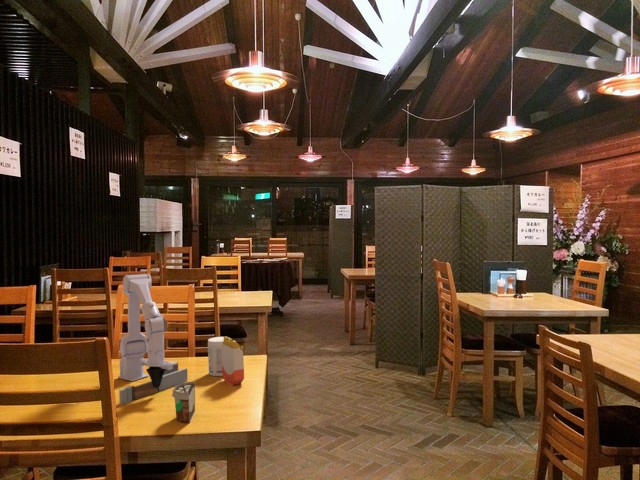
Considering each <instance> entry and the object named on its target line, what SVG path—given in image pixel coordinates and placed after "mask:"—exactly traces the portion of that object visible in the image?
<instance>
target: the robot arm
mask: <svg viewBox="0 0 640 480" xmlns="http://www.w3.org/2000/svg"><path fill="white" fill-rule="evenodd" d="M152 283H153V281H152V276H151V275H150V273H142V274H129V275H128V274H125V275H124V276H123V279H122V293H123V294H125V295H126V296H127V333H125V334H124V335H123V336H122V337H120V344H119V353H120V355H121V358H120V361H119V375H118V377H117V378H118V379H122V380H126V381H129V382H134V381H137V380H141V379H144V378H146V377H150V381H152V384H153V387H154V388H157V387H160V384H161V380H162V377H163V374H164V372H165V370H166V369H167V370H171V369H173V364H172V363H169V362H170V361H166V360H165V332H166V330H167V321H166V318H165V316H164V315H163V314H161V313H160V310H159V308H158V305H157V303H156V302H155V301H153V298H152V295H151V288H152ZM141 314H142V316H143V318H144V330H145V334H144V333H143V332H141ZM146 353H147V359H145V358H144V357H145V355H146ZM144 366H145V367H148V368H146V372H147V374H146V373H145V370H144V369H145V368H144Z"/></svg>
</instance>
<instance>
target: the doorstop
mask: <svg viewBox="0 0 640 480" xmlns="http://www.w3.org/2000/svg"><path fill="white" fill-rule="evenodd" d="M168 362H169V363H172V364H173V369H171V370H167V369H166V370H165V372H164V374H163V375H166V374H169V373H172V372H175V371H178V370H179V362H177V361H172V360H171V361H168Z"/></svg>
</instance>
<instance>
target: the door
mask: <svg viewBox="0 0 640 480" xmlns="http://www.w3.org/2000/svg"><path fill="white" fill-rule="evenodd" d="M130 387H132V402H133V401H135V400H138V399H141V398H144V397H147V396H149V395H152V394H155V393H158V392H159V391H158V387H157V388H154V387H153V384H152V381H151V380H150V381H147V382H143V383H141V384H138V385H135V386H134V385H131V386H130Z"/></svg>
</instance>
